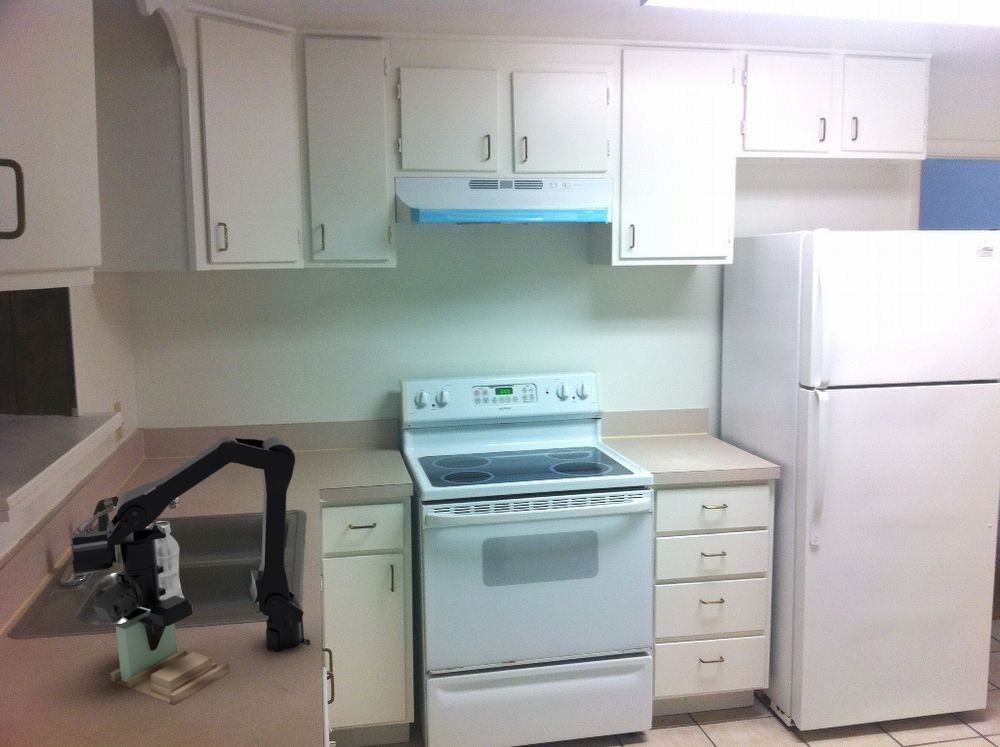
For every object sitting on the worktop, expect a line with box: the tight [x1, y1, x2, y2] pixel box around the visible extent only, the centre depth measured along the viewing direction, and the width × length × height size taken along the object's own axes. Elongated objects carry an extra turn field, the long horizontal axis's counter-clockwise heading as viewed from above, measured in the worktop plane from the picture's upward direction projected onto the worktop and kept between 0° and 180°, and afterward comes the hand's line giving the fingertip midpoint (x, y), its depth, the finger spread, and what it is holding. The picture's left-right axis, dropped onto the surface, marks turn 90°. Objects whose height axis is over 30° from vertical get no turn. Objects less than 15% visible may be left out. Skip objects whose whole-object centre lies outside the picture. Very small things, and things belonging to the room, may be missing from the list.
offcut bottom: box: [150, 661, 218, 698], centre depth 155 cm, size 10×5×2 cm, turn 150°
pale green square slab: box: [115, 612, 178, 682], centre depth 159 cm, size 10×2×10 cm, turn 150°
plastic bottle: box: [149, 520, 185, 600], centre depth 180 cm, size 6×7×20 cm
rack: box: [109, 648, 231, 705], centre depth 157 cm, size 12×16×2 cm
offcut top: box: [151, 651, 213, 690], centre depth 155 cm, size 9×5×2 cm, turn 150°
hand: (148, 648), depth 159 cm, fingers closed on pale green square slab, 2 cm apart
